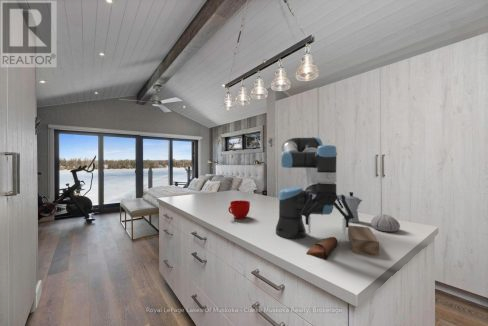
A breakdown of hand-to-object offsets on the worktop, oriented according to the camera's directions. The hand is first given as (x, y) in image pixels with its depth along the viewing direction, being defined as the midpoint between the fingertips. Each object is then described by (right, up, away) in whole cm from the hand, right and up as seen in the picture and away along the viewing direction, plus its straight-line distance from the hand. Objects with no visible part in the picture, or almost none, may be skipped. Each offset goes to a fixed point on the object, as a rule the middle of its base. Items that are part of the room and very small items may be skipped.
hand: (326, 233), depth 87 cm
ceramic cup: (-38, -7, +49) cm, 63 cm away
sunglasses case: (-1, -8, +1) cm, 8 cm away
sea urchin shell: (+43, -7, +28) cm, 52 cm away
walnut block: (+18, -7, +6) cm, 20 cm away
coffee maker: (+32, -7, +44) cm, 55 cm away
